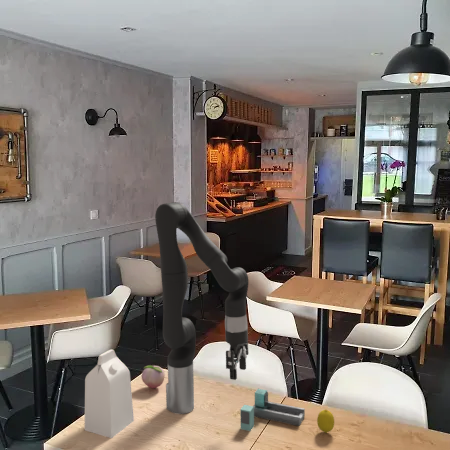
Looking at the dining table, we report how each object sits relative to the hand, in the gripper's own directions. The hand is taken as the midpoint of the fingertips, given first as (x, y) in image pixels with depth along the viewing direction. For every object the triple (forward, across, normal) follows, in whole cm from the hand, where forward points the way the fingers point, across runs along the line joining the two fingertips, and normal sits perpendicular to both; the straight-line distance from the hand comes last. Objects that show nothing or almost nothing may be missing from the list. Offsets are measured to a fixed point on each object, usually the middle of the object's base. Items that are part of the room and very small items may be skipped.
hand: (238, 374), depth 164 cm
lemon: (+19, -6, +28) cm, 34 cm away
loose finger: (+18, +1, +3) cm, 18 cm away
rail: (+18, -10, +10) cm, 23 cm away
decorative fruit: (+16, -12, -42) cm, 47 cm away
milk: (+17, +18, -41) cm, 48 cm away
